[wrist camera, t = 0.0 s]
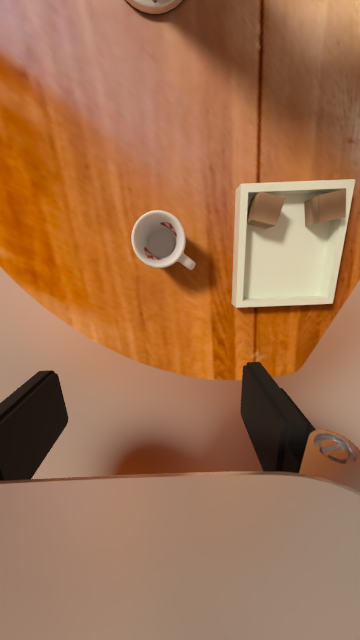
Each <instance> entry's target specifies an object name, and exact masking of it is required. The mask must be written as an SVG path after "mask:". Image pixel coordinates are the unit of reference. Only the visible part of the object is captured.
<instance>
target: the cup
mask: <svg viewBox="0 0 360 640" xmlns="http://www.w3.org/2000/svg"><path fill="white" fill-rule="evenodd" d="M132 245H133V249H134V251H135V253H136V255H137V256H138V258H139V259H140V260H141V261H142V262H143V263H145V264H146V265H148V266H151V267H154V268H165V267H169V266H171V265H173V264H174V263H175V262H180V263H181V264H182V265H184V266H185V267H186V268H188V269H189V270H192V269H193V268H194V267H195V262H194V261H193V260H191V259H190V258H189V257H188V256H186V255H185V254H184V249H185V245H186V235H185V231H184V228H183V226H182V224H181V223H180V221H179V220H178V219H177V218H176V217H175V216H174V215H172V214H170V213H168V212H166V211H162V210H154V211H150V212H147V213H145V214H144V215H142V216H141V217H140V218H139V219H138V221H137V222H136V223H135V225H134V228H133V231H132Z"/></svg>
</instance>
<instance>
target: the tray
mask: <svg viewBox="0 0 360 640" xmlns="http://www.w3.org/2000/svg"><path fill="white" fill-rule="evenodd" d="M354 185H355V179H347V180H323V181H299V182H274V183H250V184H240V186H239V187H238V188H237V189H236V200H235V228H234V256H233V284H232V305H233V306H235V307H236V308H240V307H264V306H288V305H313V304H333V299H334V294H335V288H336V283H337V277H338V272H339V266H340V261H341V256H342V250H343V245H344V239H345V234H346V228H347V223H348V217H349V212H350V206H351V201H352V195H353V190H354ZM343 189H346V217H344V218H340V219H336V220H331V221H327V222H323V223H318V224H314V225H310V226H305V210H304V202H305V201H307V200H309V199H312V198H314V197H316V196H319V195H322V194H326V193H330V192H335V191H339V190H343ZM260 191H261V192H265V193H269V194H272V195H276V196H280V197H284V198H285V201H284V204H283V207H282V210H281V213H280V216H279V219H278V222H277V225H276V226H274V227H270V228H267V229H264V228H260V227H256V226H252V225H248V224H247V213H248V209H249V206H250V202H251V199H252V198H253V197H254V196H255V195H257V194H258V193H259V192H260Z"/></svg>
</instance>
